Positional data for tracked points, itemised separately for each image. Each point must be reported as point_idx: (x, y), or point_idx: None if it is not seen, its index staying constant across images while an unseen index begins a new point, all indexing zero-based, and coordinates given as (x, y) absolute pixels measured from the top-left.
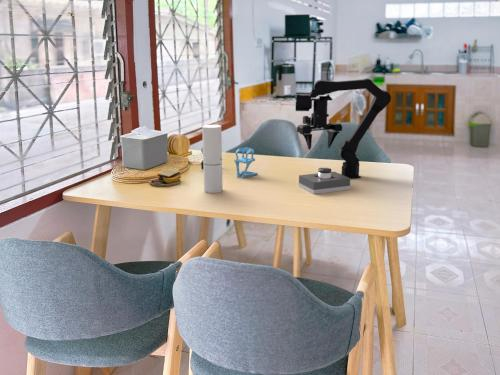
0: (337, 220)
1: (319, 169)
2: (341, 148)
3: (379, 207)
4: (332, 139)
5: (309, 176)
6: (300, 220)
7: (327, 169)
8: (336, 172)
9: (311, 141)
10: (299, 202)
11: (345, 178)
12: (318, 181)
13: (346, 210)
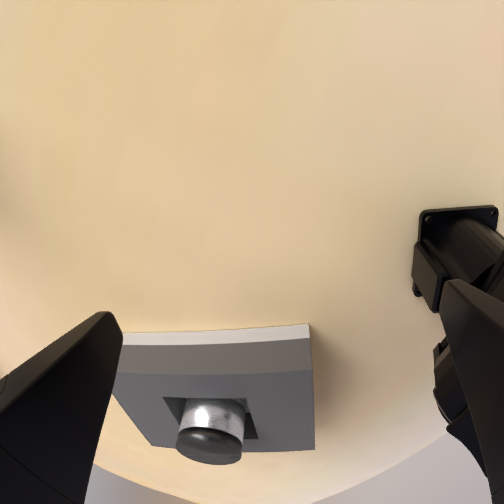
0: (183, 492)
1: (180, 447)
2: (452, 432)
3: (294, 486)
4: (493, 445)
5: (143, 399)
6: (121, 475)
7: (219, 457)
8: (311, 386)
9: (91, 463)
10: (118, 435)
11: (293, 449)
12: (170, 446)
13: (216, 483)
